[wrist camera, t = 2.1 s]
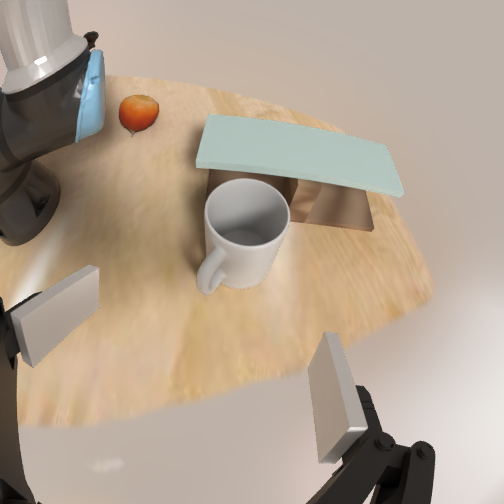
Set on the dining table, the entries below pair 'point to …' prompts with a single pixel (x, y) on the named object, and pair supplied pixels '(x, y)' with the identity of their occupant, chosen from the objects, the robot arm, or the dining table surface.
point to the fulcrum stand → (310, 199)
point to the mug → (241, 234)
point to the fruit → (138, 112)
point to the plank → (297, 153)
